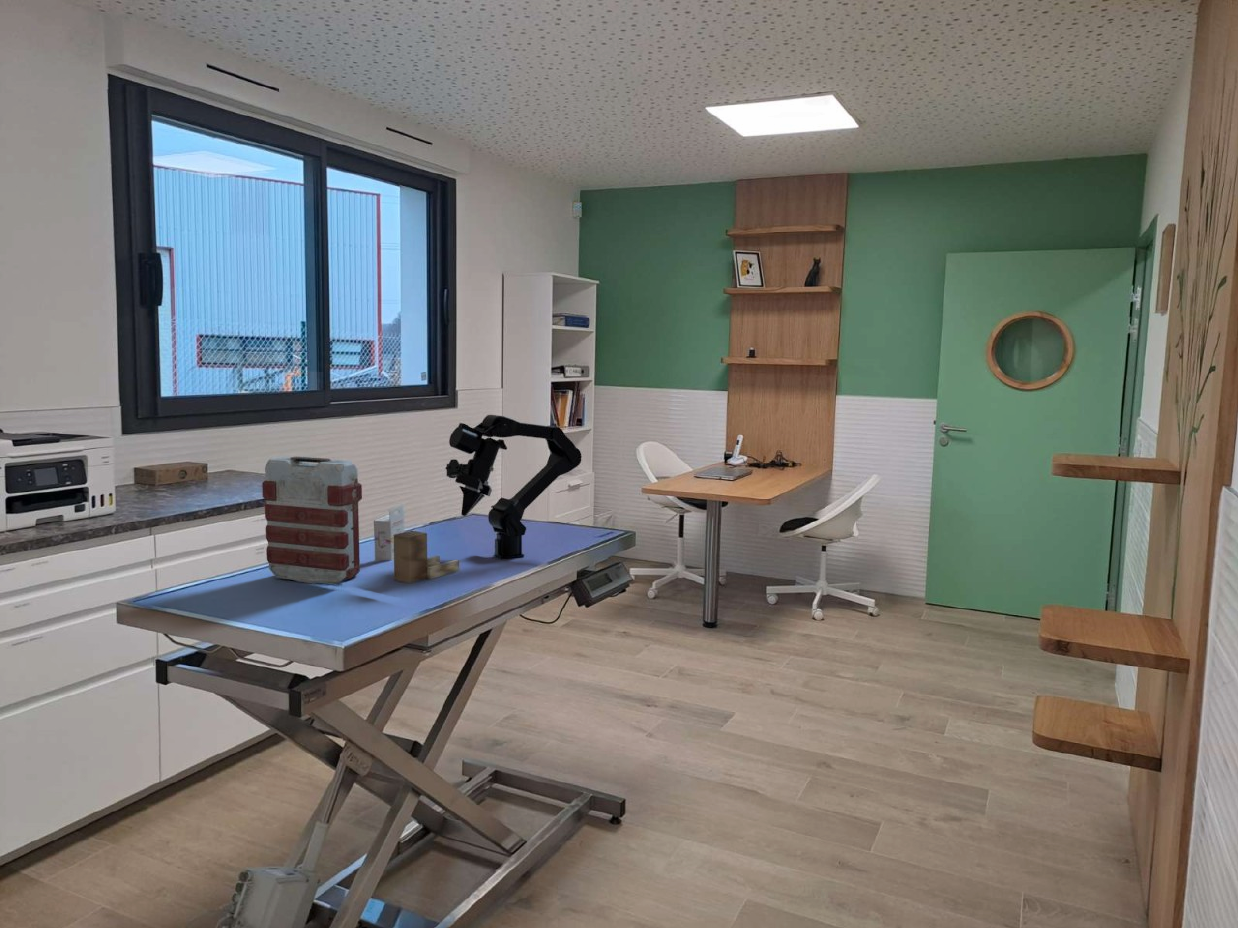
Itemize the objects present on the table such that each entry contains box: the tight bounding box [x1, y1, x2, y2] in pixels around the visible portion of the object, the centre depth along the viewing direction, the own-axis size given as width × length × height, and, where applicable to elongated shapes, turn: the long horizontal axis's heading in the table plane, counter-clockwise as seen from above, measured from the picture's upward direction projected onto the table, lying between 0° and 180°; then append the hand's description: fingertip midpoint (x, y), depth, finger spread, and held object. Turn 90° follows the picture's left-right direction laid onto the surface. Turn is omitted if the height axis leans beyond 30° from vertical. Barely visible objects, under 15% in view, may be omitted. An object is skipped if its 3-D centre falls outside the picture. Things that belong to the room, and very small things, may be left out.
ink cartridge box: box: [373, 504, 405, 563], centre depth 239 cm, size 9×5×15 cm, turn 168°
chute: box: [427, 555, 460, 580], centre depth 222 cm, size 18×10×4 cm, turn 147°
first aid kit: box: [261, 456, 363, 586], centre depth 218 cm, size 23×8×30 cm, turn 71°
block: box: [393, 530, 428, 584], centre depth 217 cm, size 6×5×11 cm
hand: (463, 515), depth 238 cm, fingers closed
